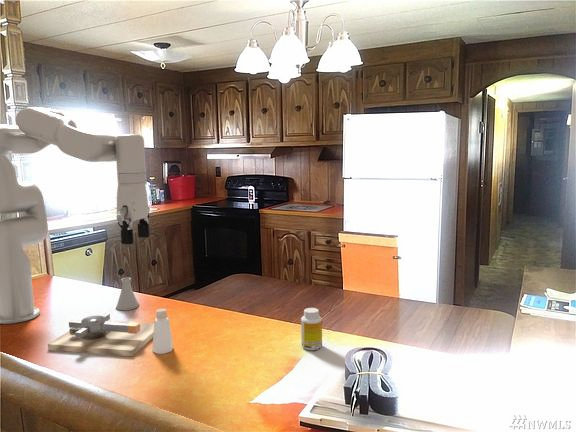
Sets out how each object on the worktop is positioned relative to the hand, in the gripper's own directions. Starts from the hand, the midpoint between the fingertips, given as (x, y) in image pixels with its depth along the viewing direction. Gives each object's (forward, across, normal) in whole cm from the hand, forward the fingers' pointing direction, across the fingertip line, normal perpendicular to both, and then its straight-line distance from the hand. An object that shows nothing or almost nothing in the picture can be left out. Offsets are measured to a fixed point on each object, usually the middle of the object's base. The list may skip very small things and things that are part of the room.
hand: (136, 240), depth 125 cm
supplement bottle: (+28, +3, +50) cm, 57 cm away
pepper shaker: (+28, +10, +10) cm, 31 cm away
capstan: (+25, +7, -7) cm, 27 cm away
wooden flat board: (+27, +5, -8) cm, 29 cm away
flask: (+27, -20, -15) cm, 37 cm away
